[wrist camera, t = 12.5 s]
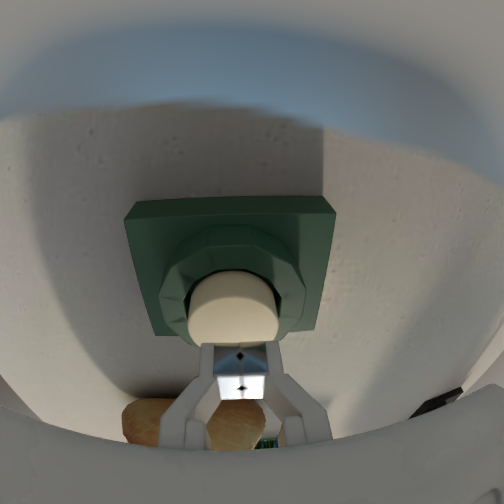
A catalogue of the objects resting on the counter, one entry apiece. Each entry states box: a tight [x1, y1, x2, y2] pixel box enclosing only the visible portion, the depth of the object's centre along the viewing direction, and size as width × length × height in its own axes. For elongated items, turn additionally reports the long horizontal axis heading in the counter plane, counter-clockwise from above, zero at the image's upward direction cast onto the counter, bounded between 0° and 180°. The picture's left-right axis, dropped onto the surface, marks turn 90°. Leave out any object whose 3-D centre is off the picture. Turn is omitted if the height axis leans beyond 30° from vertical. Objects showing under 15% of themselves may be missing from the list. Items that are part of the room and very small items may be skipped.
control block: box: [124, 196, 336, 347], centre depth 15 cm, size 10×8×4 cm
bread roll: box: [122, 398, 266, 450], centre depth 22 cm, size 10×15×8 cm, turn 94°
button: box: [187, 270, 279, 347], centre depth 13 cm, size 4×4×2 cm
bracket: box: [409, 387, 463, 419], centre depth 31 cm, size 11×9×14 cm
